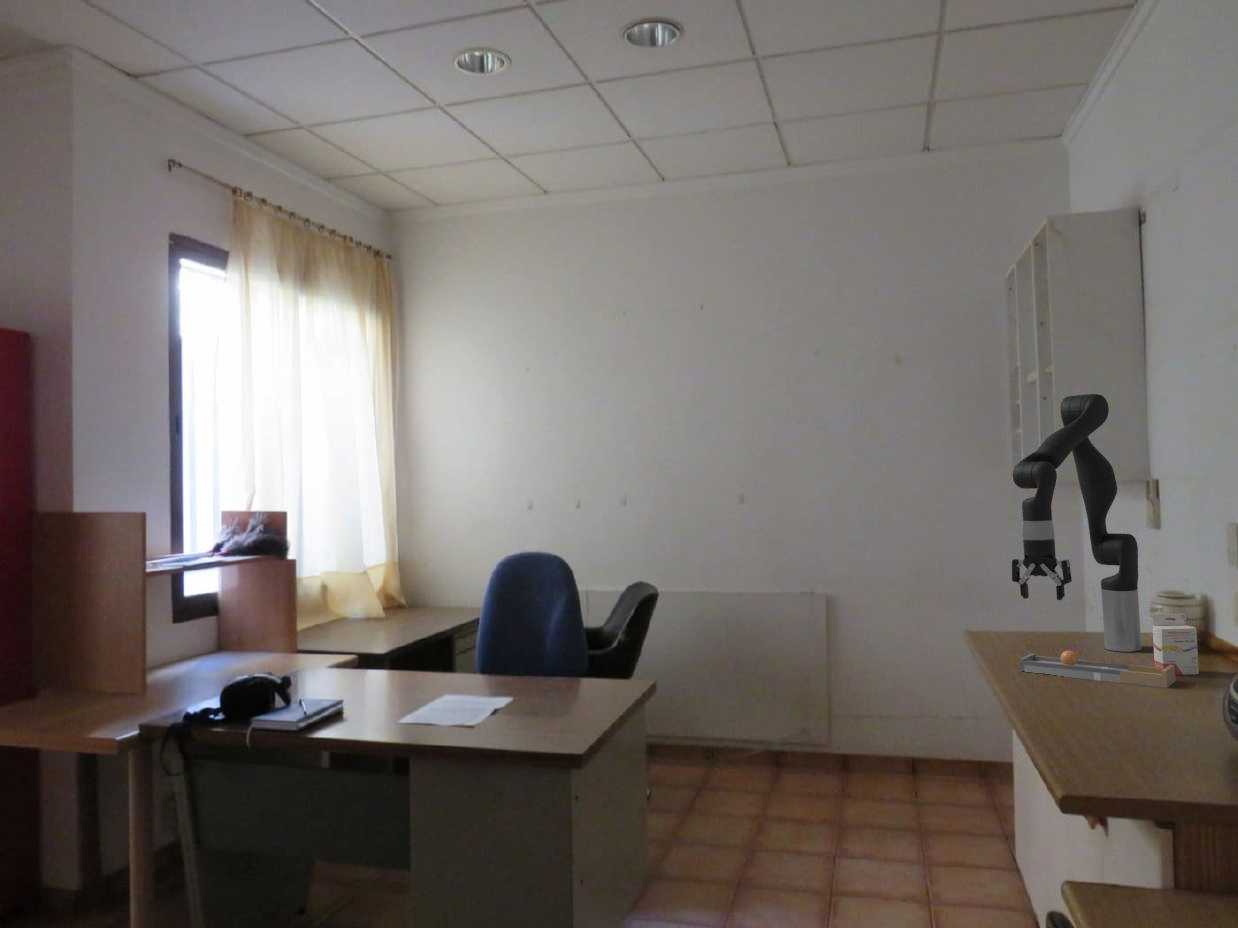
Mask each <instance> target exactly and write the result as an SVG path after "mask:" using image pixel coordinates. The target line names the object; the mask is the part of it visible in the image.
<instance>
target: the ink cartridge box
mask: <svg viewBox="0 0 1238 928" xmlns="http://www.w3.org/2000/svg"><path fill="white" fill-rule="evenodd" d="M1152 615H1153V616H1152V619H1153V621H1152V624H1153V625H1152V641H1153V657H1154V659H1153V660H1154V667H1158V668H1166V667H1167V666H1169V665H1175V676H1176V675H1179V674H1181V675H1199V673H1200V672H1199V653H1198V652H1199V651H1198V636H1197V635H1198V632H1197V628H1196V627H1195V626H1192V625H1188V624H1187V614H1186V613H1185V612H1182V613H1175V612H1174V613H1153V614H1152ZM1168 618H1171V619H1174V620H1165V619H1168ZM1179 676H1180V675H1179Z"/></svg>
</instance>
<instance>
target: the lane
mask: <svg viewBox="0 0 1238 928" xmlns="http://www.w3.org/2000/svg"><path fill="white" fill-rule="evenodd" d="M1019 664H1020V665H1019V666H1020V672H1021V671H1025V672H1033V673H1032V674H1034V673H1045V674H1051V675H1050V676H1052V675H1057V676H1056V677H1061V676H1064V678H1070V677H1071V678H1072V679H1080V680H1081V679H1082V680H1090V681H1099V682H1107V681H1108V682H1109V683H1117V684H1125V683H1126V684H1127V685H1136V686H1146V687H1155V688H1163V689H1168V688H1169V687H1170V686H1171V685H1173V684H1174V683H1176V682H1175V681H1176V675H1175V665H1169V666H1167V667H1166V668H1158V667H1155V666H1146V665H1137V664H1125V663H1118V662H1117V663H1114V662H1105V661H1096V660H1095V661H1093V660H1085V659H1084V660H1083V659H1078V661H1077V663H1076V664H1075V665H1066V664H1063V663H1062V661H1061V657H1052V656H1044V655H1042V656H1041V655H1036V653H1029V654H1027V655H1025V656H1023V657H1020V658H1019ZM1025 672H1024V673H1025ZM1126 684H1125V685H1126Z"/></svg>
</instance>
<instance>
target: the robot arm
mask: <svg viewBox="0 0 1238 928" xmlns="http://www.w3.org/2000/svg"><path fill="white" fill-rule="evenodd" d="M1109 408H1110V407H1109V403H1108V400H1107V399H1106V397H1104V395H1102V394H1098V393H1088V394H1077V395H1069V396H1066V397H1064V398H1063V399H1062V401H1061V403H1060V416H1061V417H1060V418H1061V421H1062V424H1063V427H1062V428H1060V429H1058V430H1056V431H1054V432H1053V433H1051V434H1050V435H1049V436H1047V438H1045V440H1044V441H1043V442H1042V443H1041V444H1040V446H1039V447H1038V448H1037V449H1036V450H1035V451H1034V452H1031V453H1030V454H1028V455H1027V456H1026V457H1024V458H1023V459H1022V460H1020V461H1019V462H1018V463H1017V464H1016V465H1015V467H1014V470H1013V472H1012V480H1013V483H1014V485H1016V486H1017V487H1018V488H1020V489H1025V490H1027V489H1028V490H1029V489H1031V490H1032V489H1033V490H1034V489H1036V493H1035V495H1034V496H1032V497H1029V498H1025V499H1024V500H1022V502H1021V508H1022V509H1021V512H1022V533H1021V534H1022V543H1023V544H1022V545H1023V555H1024V556H1023V559H1019V558H1014V559H1012V561H1011V580H1012V582H1014V583H1018V585H1019V589H1020V595H1021V597H1022V599H1029V598H1030V597H1029V584H1028V583H1027V582H1028V581H1029V580H1030V578H1032V576H1033V577H1038V576H1039V577H1040V576H1041V577H1049V578H1050V579H1051V580H1053V582H1054V583H1055V584H1056V586H1055V589H1056V592H1055V593H1056V600H1057V601H1062V600H1063V599H1064V598H1065V592H1066V591H1065V585H1067V584H1071V583H1072V572H1071V571H1072V570H1071V563H1070V561H1069V559H1063V560H1058V559H1057V558H1056V557H1057V556H1056V544H1055V543H1056V541H1055V540H1056V539H1055V528H1054V524H1053V515H1052V514H1053V513H1052V503H1053V499H1054V498H1053V497H1054V494H1055V488H1056V484H1057V480H1058V475H1057V474H1058V472H1057V470H1056V469H1058V468H1059V467H1060V466H1061V465H1062V464H1063V462H1064V461H1065V460H1067V459H1066V458H1067V457H1069V455H1070V453H1071V452H1072V456H1073V461H1074V463H1075V470H1076V474H1077V478H1078V484H1079V487H1080V492H1081V495H1082V499H1083V504H1084V509H1085V512H1086V518H1087V523H1088V531H1089V540H1090V546H1091V547H1090V548H1091V552H1092V555H1093V558H1094V560H1095V562H1096V563H1098V565H1103V566H1118V572H1117V573H1115V574H1113V575H1110V576H1107V577H1104V578H1102V579H1100V580H1101V581H1100V588H1101V590H1100V591H1101V603H1102V604H1101V605H1102V618H1103V619H1102V620H1103V622H1102V623H1103V636H1104V637H1103V638H1104V648H1105V650H1108V651H1114V652H1122V653H1123V652H1126V653H1127V652H1139V651H1142V649H1143V648H1142V635H1141V634H1142V633H1141V623H1140V622H1141V619H1140V605H1139V604H1140V603H1139V589H1138V588H1139V587H1138V584H1139V583H1138V582H1139V548H1138V542H1137V539H1136V538H1135V536H1134V535H1133V534H1131V533H1114V532H1113V533H1108V530H1107V525H1106V524H1107V522H1106V521H1107V515H1108V513H1109V511H1110V509H1111V507H1112V505H1113V503H1114V501H1115V498H1116V496H1117V493H1118V485H1117V484H1118V483H1117V481H1116V474H1115V471H1114V468H1113V465H1112V464H1111V463H1110V461H1108V459H1107V458H1106V457H1105V455H1103V454H1102V453H1101V452H1100V451H1099V449H1097V448H1096V447H1095V445H1094V444H1093V443H1092V441H1091V440H1090V439H1089V438H1090V437H1089V436H1090V435H1092V434H1093V433H1094V432H1095V431H1096V430H1098V429H1099V428H1100V427H1101V426H1102V425H1104V424H1105V422H1106V421H1107V419H1108V416H1109V414H1110V413H1109V411H1110V410H1109ZM1022 566H1024V567H1025V568H1026V570H1025V572H1024V573H1023V575H1022V576H1021V568H1022ZM1057 566H1058V567H1059V569H1061V570H1062V577H1063V578H1062V577H1061V576H1060V573H1058V571H1057V570H1056V568H1057Z"/></svg>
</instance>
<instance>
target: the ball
mask: <svg viewBox="0 0 1238 928" xmlns="http://www.w3.org/2000/svg"><path fill="white" fill-rule="evenodd" d="M1060 658H1061V661H1062V663H1063V664H1066V665H1075V664H1076V663H1077V661H1078V660H1079V659H1078V655H1077V654H1076V652H1074V651H1072V650H1065V651H1063V652H1061V654H1060Z"/></svg>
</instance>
